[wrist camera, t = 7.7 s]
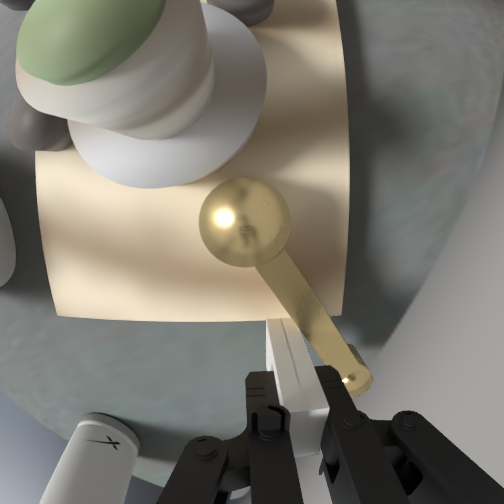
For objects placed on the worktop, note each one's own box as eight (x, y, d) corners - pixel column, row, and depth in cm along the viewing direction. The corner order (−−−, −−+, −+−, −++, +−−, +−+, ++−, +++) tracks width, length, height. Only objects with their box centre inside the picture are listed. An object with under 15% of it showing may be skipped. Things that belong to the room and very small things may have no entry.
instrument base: (70, 11, 12) (-19, -57, 1) (321, -17, 12) (382, -128, 1) (71, 303, 18) (-32, 404, 6) (331, 301, 18) (420, 440, 7)
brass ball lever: (192, 204, 14) (180, 212, 11) (253, 162, 14) (257, 158, 11) (323, 379, 17) (335, 410, 14) (371, 350, 17) (390, 377, 14)
